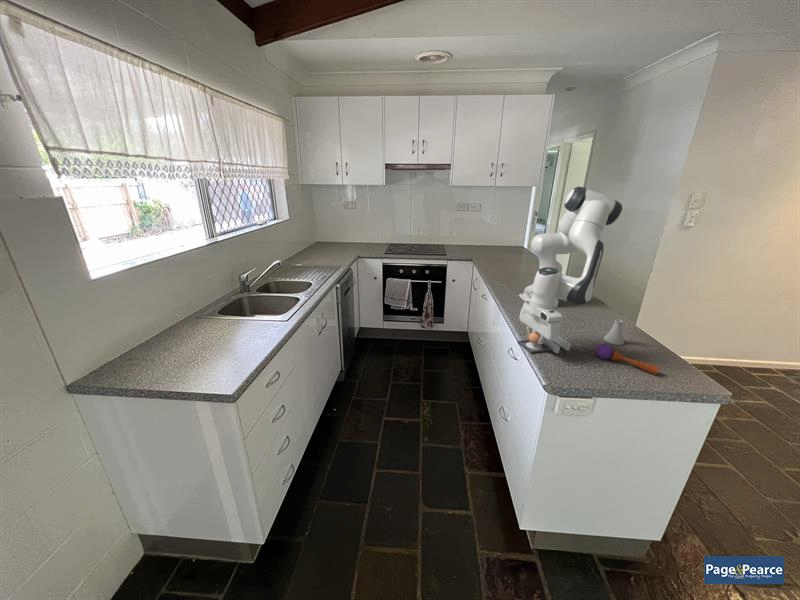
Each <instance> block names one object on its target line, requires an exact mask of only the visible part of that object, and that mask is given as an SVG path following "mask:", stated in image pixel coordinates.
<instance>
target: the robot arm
mask: <svg viewBox="0 0 800 600" xmlns="http://www.w3.org/2000/svg"><path fill="white" fill-rule="evenodd" d="M564 208H565V209H566V211H565V212H564V214H563V215H562V217H561V218H560V219H559V220H558V224H557V225H558V230H559V231H558V232H544V233H540V234H539V233H538V234H536V235H534V236H533V237H532V239H531V242H530V247H531V251H533V253H534V254H535V255H536V256H537V258H538V262H539V266H538V270H537V272H536V274H535V276H534V278H533V283H532V284H530V285H527V286H526V287H525V288H524V291H523V293H519V294H518V296H519V297H520V299H522V301H524V302H523V306H522V307H521V310H520V313H519V322H521V323H523V324H524V325H526V329H527V336H528V337H529V335H530V333H532V332H533V331H532V329H533V330H535V331H536V332H538V333H539V334H540V337H541V338H540V339H538V340H537V343H539V344H543V342H544V340H545V339H548V340H549V341H552V340H556V339H558V338H559V337H560V334H561V329H562V323H561V321H563V317H564V316H563V315H562V313H561V312H560V311H559V310H558V309H557V308H558V306H559V302H560V301H559V300H562V301H565V302H568V303H569V304H572V305H574V306H576V307H577V306H578V307H579V306H582V305H585V304H587V303H589V302H590V300H591V299H592V297H593V294H594V289H595V283H596V279H597V276H598V272H599V269H600V266H601V263H602V259H603V254H604V250H605V249H604V248H605V247H604V242H603V241H601V236H602V233H603V230H604V229H605V226H609V225H612V224H613V223H615V222H616V221H617V220H618V219H619V218H620V217H621V214H622V210H623V205H622V203H620V201H618V200H616V199H613V198H611V197H610V196H607V194H606V195H605V194H603V193H600V192H598V191H595V190H592V189H588V188H586V187H584V186H575V187H574V188H572V189H571V191H569V192H568V193H567V195H566V196H565V200H564ZM578 250H579V251H580V252H582V253H583V254H585V255H586V261H585V264H584V267H583V271H582V273H581V276H580V277H574V276H570V275H566V274H563V273H562V271H563V266H562V264H561V263H560V262H559V261H557V255H569V254H572V253H575V252H577V251H578Z"/></svg>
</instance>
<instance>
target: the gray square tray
mask: <svg viewBox="0 0 800 600" xmlns="http://www.w3.org/2000/svg"><path fill="white" fill-rule="evenodd" d="M517 344H518V345H520V346H521V347H522V348H523V349H524V350H526V351H527V352H528V353H530V354H536V353H537V354H538V352H540V353H545V352H544V351H547V352H551V351H552V350H551V349H550V348H549V347H547V346H546V345H545V344H539V343H538V344H533V343H531V342H530V341H529V339H522V340H517Z"/></svg>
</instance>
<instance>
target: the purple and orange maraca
mask: <svg viewBox="0 0 800 600" xmlns="http://www.w3.org/2000/svg"><path fill="white" fill-rule="evenodd" d="M595 354H596V356H597V357H598V358H600V359H601V360H602V359H603V360H609V359H611V360H612V361H625V362H626V363H628V364H631V365H633V366H635V367H637V368H639V369H642V370H644V371H645V372H648V373H649V374H650V375H653V376H656V375H657V374H658V372H659V369H660V366H656V365H654V364H649V363H646V362H642V361H640V360H639V361H638V360H634V359H631V358H629V357H628V358H627V357H626V356H624V355H623V354H621V353H620V352H619V351H618V350H615V351H614V349H613V347H612V346H611V345H610V344H609V343H608V344H607V343H600V344H598V345H597V346H596V347H595Z"/></svg>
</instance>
